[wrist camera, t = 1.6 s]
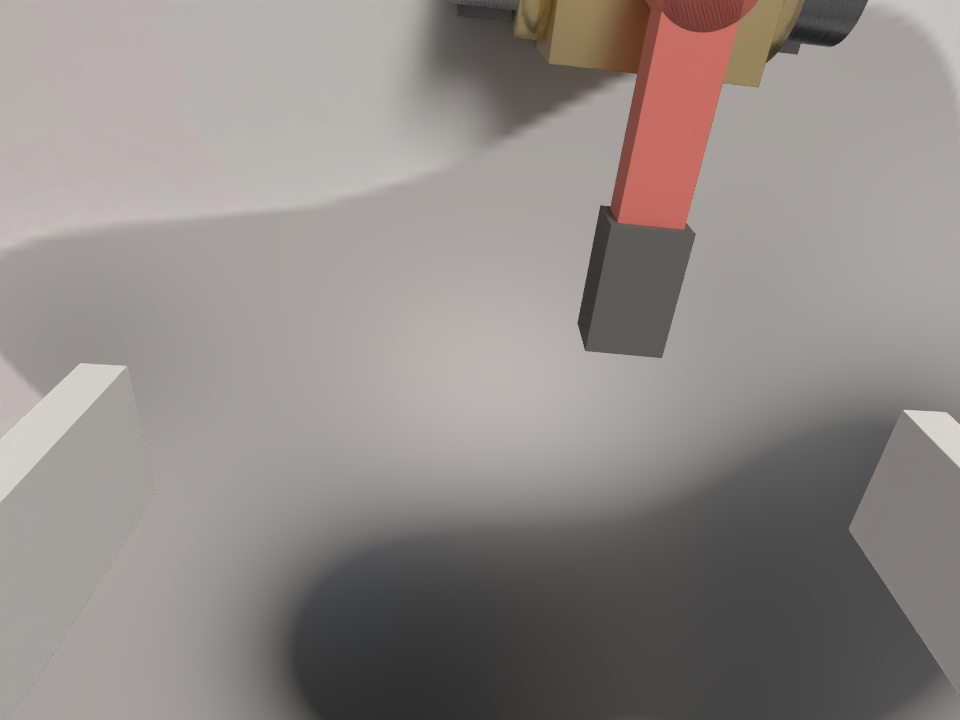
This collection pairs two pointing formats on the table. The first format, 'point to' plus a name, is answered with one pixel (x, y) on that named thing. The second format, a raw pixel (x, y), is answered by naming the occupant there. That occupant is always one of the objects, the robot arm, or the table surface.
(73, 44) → the table surface
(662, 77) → the lever
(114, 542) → the robot arm
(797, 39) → the valve body
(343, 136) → the table surface
